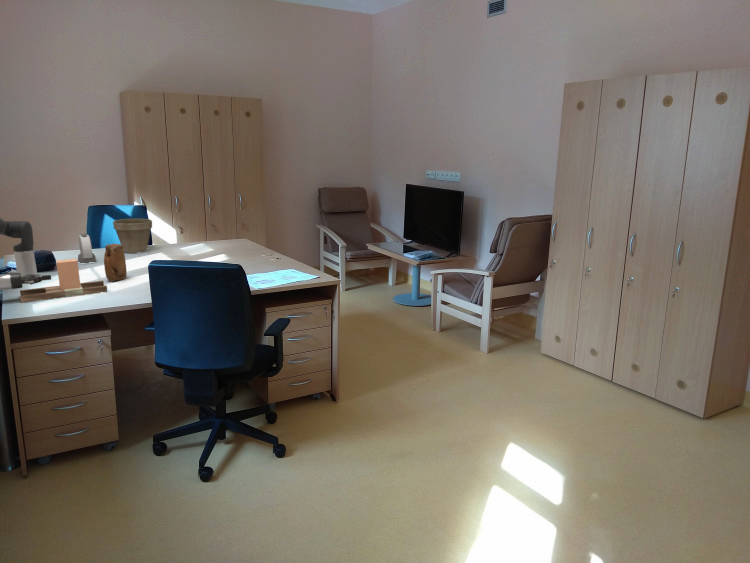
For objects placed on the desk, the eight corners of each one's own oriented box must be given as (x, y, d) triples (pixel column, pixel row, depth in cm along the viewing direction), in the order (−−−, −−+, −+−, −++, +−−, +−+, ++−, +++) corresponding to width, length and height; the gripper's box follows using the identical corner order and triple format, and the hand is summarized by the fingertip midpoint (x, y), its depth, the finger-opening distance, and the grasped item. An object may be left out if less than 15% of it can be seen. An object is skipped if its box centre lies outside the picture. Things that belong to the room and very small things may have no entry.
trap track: (20, 296, 279) (19, 290, 278) (103, 285, 299) (103, 280, 298) (21, 302, 268) (20, 296, 267) (107, 291, 287) (106, 286, 287)
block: (117, 276, 318) (114, 242, 313) (128, 277, 316) (125, 243, 311) (104, 281, 308) (99, 246, 303) (115, 282, 306) (111, 246, 301)
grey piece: (98, 263, 352) (94, 234, 347) (80, 265, 346) (76, 236, 342) (94, 258, 365) (90, 231, 360) (76, 260, 359) (72, 232, 355)
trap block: (60, 287, 284) (56, 260, 281) (79, 285, 289) (76, 258, 285) (60, 290, 279) (56, 262, 276) (80, 287, 284) (77, 260, 280)
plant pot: (162, 249, 397) (159, 218, 392) (140, 255, 374) (137, 224, 369) (131, 247, 403) (128, 217, 397) (108, 253, 380) (104, 222, 374)
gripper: (8, 276, 263) (50, 272, 272) (8, 271, 274) (49, 267, 283) (11, 292, 265) (52, 287, 274) (11, 286, 276) (51, 281, 285)
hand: (50, 277), depth 278 cm, fingers closed
